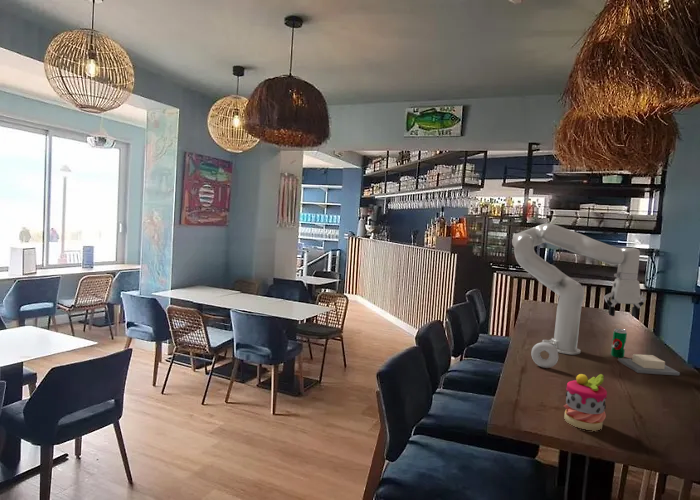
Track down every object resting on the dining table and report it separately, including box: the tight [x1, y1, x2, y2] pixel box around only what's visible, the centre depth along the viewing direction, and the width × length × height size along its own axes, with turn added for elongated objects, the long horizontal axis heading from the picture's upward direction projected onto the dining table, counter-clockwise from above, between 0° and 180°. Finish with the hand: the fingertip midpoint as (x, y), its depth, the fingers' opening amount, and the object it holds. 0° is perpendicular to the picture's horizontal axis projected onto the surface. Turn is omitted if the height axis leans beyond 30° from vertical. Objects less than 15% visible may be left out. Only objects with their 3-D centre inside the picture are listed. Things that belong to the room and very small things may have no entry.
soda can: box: [610, 327, 628, 359], centre depth 197 cm, size 5×5×12 cm
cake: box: [563, 373, 608, 432], centre depth 130 cm, size 10×11×15 cm
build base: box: [617, 353, 681, 376], centre depth 184 cm, size 16×14×4 cm
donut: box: [530, 341, 560, 369], centre depth 177 cm, size 10×3×10 cm, turn 55°
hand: (622, 316), depth 195 cm, fingers open, 9 cm apart
